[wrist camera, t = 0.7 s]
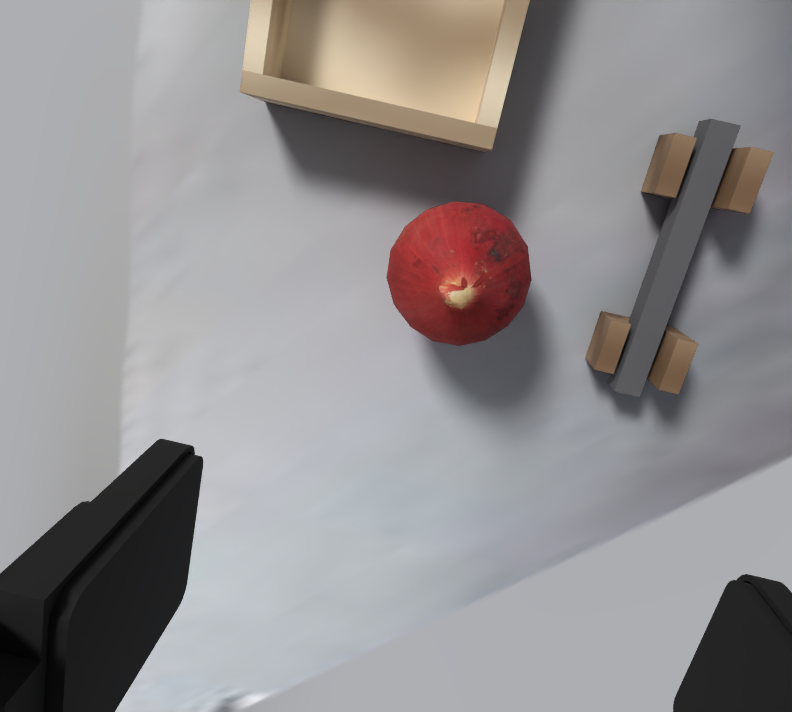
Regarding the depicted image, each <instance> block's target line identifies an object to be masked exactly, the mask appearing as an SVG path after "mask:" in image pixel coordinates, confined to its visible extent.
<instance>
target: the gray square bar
mask: <svg viewBox="0 0 792 712" xmlns="http://www.w3.org/2000/svg"><path fill="white" fill-rule="evenodd" d="M739 129H740V125H736V124H731V123H727V122H723V121H718V120H714V119H709V120H704V121H699V123H698V126H697V129H696V132H695V135H694V137H695V138H697V139H696V142H695V145H694V148H693V151H692V153H691V156H690V159H689V162H688V165H687V168H686V170H685V173H684V176H683V179H682V182H681V185H680V187H679V190H678V193H677V196H676V198H672V200H671V203H670V206H669V209H668V212H667V214H666V217H665V220H664V223H663V226H662V229H661V231H660V234H659V237H658V240H657V243H656V246H655V249H654V251H653V254H652V257H651V260H650V263H649V266H648V269H647V271H646V274H645V277H644V280H643V283H642V286H641V288H640V291H639V294H638V297H637V300H636V303H635V306H634V308H633V311H632V314H631V317H630V320H629V323H630V324H631V326H630V329H629V332H628V335H627V338H626V340H625V343H624V346H623V349H622V352H621V355H620V357H619V360H618V363H617V366H616V369H615V372H614V374H610V377H609V380H608V382H607V383H608V384H609V385H610V387H611V388H612V389H613V390H614V392H619V393H623V394H627V395H632V396H636V397H640V395H641V392H642V390H643V387H644V384H645V382H646V379H647V376H648V374H649V371H650V368H651V366H652V363H653V360H654V357H655V355H656V352H657V349H658V347H659V344H660V341H661V339H662V336H663V333H664V331H665V328H666V325H667V323H668V320H669V317H670V314H671V312H672V309H673V306H674V304H675V301H676V298H677V296H678V293H679V290H680V288H681V285H682V282H683V280H684V277H685V274H686V272H687V269H688V266H689V263H690V261H691V258H692V255H693V253H694V250H695V247H696V245H697V242H698V239H699V237H700V234H701V231H702V229H703V226H704V223H705V220H706V218H707V215H708V212H709V210H710V207H711V204H712V202H713V199H714V196H715V194H716V191H717V188H718V186H719V183H720V180H721V177H722V175H723V172H724V169H725V167H726V164H727V161H728V159H729V156H730V153H731V151H732V148H733V145H734V143H735V140H736V137H737V134H738V132H739Z"/></svg>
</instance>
